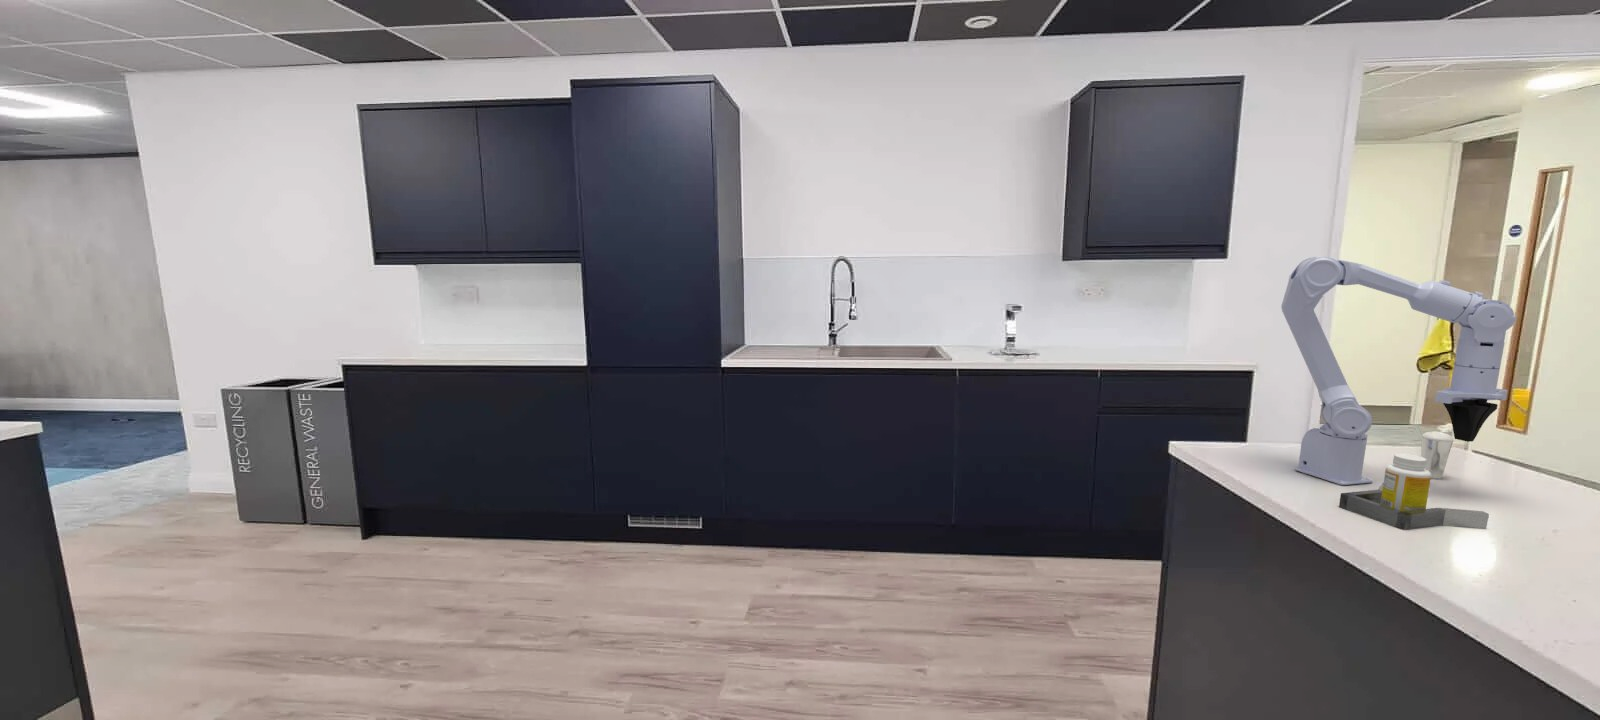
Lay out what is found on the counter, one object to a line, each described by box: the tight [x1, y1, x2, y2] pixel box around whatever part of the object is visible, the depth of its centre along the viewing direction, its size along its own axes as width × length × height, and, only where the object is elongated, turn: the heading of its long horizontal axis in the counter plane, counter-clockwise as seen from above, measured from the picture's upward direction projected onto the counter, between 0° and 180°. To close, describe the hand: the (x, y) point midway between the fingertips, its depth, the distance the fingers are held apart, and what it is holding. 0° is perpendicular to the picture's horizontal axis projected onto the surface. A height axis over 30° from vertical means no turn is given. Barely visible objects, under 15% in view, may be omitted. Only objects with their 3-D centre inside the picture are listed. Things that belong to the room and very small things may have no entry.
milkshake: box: [1417, 425, 1455, 480], centre depth 128 cm, size 4×5×10 cm
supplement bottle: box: [1380, 453, 1432, 511], centre depth 108 cm, size 6×6×10 cm
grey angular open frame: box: [1338, 482, 1490, 531], centre depth 109 cm, size 15×14×2 cm
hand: (1463, 440), depth 117 cm, fingers closed
